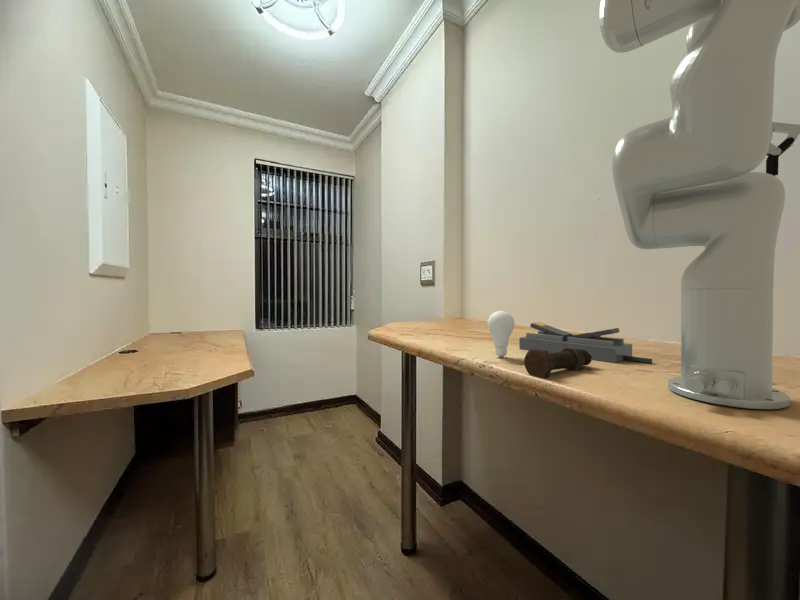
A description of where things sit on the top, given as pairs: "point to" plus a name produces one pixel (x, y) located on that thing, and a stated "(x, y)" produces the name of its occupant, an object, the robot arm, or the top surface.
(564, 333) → the rocker outer
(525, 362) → the bolt
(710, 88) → the robot arm
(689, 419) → the top surface
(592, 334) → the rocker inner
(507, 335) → the lightbulb
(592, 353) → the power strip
